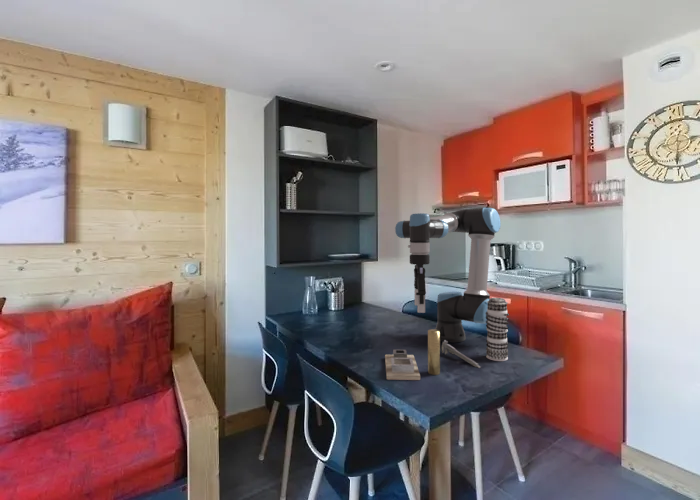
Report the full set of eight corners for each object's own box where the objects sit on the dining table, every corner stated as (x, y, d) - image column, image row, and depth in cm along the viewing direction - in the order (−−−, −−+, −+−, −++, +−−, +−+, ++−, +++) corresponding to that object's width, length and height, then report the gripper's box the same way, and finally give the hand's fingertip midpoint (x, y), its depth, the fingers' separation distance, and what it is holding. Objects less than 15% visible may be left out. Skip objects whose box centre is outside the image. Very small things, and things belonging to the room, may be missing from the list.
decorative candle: (500, 353, 153) (500, 296, 152) (513, 360, 144) (514, 300, 143) (481, 354, 151) (481, 297, 150) (493, 362, 142) (493, 301, 141)
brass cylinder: (438, 370, 135) (438, 329, 134) (441, 375, 130) (440, 332, 129) (427, 370, 135) (427, 329, 134) (429, 374, 131) (428, 332, 130)
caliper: (441, 353, 154) (441, 339, 154) (443, 353, 155) (443, 339, 154) (479, 368, 136) (479, 352, 136) (480, 368, 137) (480, 352, 137)
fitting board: (420, 380, 126) (420, 367, 126) (386, 379, 127) (386, 367, 127) (413, 358, 148) (413, 347, 148) (385, 358, 149) (384, 347, 149)
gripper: (407, 252, 148) (407, 302, 148) (411, 255, 123) (412, 315, 124) (425, 252, 147) (425, 302, 148) (433, 255, 122) (433, 316, 123)
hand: (419, 308), depth 136 cm, fingers open, 13 cm apart
